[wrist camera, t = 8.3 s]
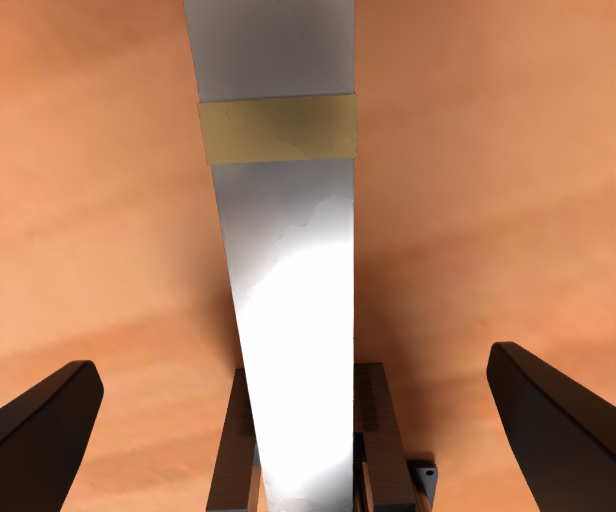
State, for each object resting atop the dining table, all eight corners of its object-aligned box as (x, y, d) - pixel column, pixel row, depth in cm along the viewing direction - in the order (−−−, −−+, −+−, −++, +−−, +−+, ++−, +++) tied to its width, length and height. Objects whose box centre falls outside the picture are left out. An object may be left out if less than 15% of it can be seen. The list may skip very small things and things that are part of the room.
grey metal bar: (346, 475, 18) (353, 551, 15) (279, 477, 18) (274, 553, 16) (341, -216, 8) (360, -355, 5) (185, -206, 8) (121, -337, 5)
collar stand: (380, 391, 21) (411, 534, 15) (240, 396, 21) (214, 540, 15) (405, -96, 12) (514, -249, 6) (153, -79, 12) (-10, -210, 6)
